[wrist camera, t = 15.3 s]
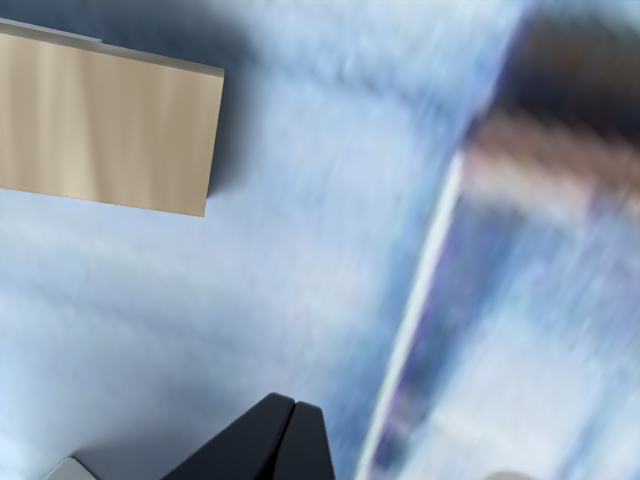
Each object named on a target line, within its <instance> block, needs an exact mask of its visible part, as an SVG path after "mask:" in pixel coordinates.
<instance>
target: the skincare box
mask: <svg viewBox="0 0 640 480" xmlns="http://www.w3.org/2000/svg"><path fill="white" fill-rule="evenodd" d="M42 480H97V479H96V478H95V477H93V476H92V475H91V474H90V473H89V472H88V471H87V470H86V469H85V468H84V467H83V466H82V465H81V464H80V463H79V462H77V461H76V460H75V459H74V458H71V457H66V458H65V459H64V460H63V461H62V462H61V463H59V464H58V465H57V466H56V467H55V468H54V469H53V470H52V471H51V472H50V473H48V474H47V475H46V476H45V477H44V478H43V479H42Z"/></svg>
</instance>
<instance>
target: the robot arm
mask: <svg viewBox="0 0 640 480" xmlns="http://www.w3.org/2000/svg"><path fill="white" fill-rule="evenodd" d="M159 480H336V477H335V472H334V467H333V462H332V457H331V452H330V447H329V442H328V437H327V432H326V427H325V422H324V417H323V412H322V409H321V408H320V407H318V406H315V405H312V404H309V403H306V402H303V401H298V402H297V403H296V404H295V400H294V399H293V398H291V397H288V396H285V395H282V394H278V393H275V392H273V393H270V394H268V395H267V396H266V397H264V398H263V399H262V400H261V401H259V402H258V403H257V404H255V405H254V406H253V407H252V408H250V409H249V410H248V411H246V412H245V413H244V414H243V415H241V416H240V417H239V418H237V419H236V420H235V421H234V422H232V423H231V424H230V425H228V426H227V427H226V428H225V429H223V430H222V431H221V432H219V433H218V434H217V435H216V436H214V437H213V438H212V439H210V440H209V441H208V442H207V443H205V444H204V445H203V446H201V447H200V448H199V449H198V450H196V451H195V452H194V453H192V454H191V455H190V456H188V457H187V458H186V459H185V460H183V461H182V462H181V463H179V464H178V465H177V466H176V467H174V468H173V469H172V470H170V471H169V472H168V473H167V474H165V475H164V476H163V477H161V478H160V479H159Z"/></svg>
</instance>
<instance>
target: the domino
mask: <svg viewBox="0 0 640 480" xmlns="http://www.w3.org/2000/svg"><path fill="white" fill-rule="evenodd" d="M224 73H225V68H221V67H216V66H211V65H206V64H201V63H196V62H191V61H187V60H182V59H177V58H172V57H167V56H162V55H157V54H152V53H147V52H143V51H138V50H133V49H128V48H123V47H118V46H113V45H108V44H104V43H99V42H94V41H89V40H84V39H79V38H74V37H69V36H65V35H60V34H55V33H50V32H45V31H40V30H35V29H30V28H25V27H21V26H16V25H11V24H6V23H1V22H0V188H4V189H11V190H18V191H25V192H32V193H39V194H46V195H52V196H59V197H66V198H73V199H80V200H87V201H94V202H101V203H108V204H115V205H122V206H129V207H136V208H143V209H150V210H157V211H164V212H171V213H178V214H185V215H192V216H199V217H204V212H205V205H206V198H207V191H208V184H209V177H210V171H211V164H212V157H213V150H214V143H215V136H216V130H217V123H218V116H219V109H220V102H221V95H222V89H223V82H224Z"/></svg>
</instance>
